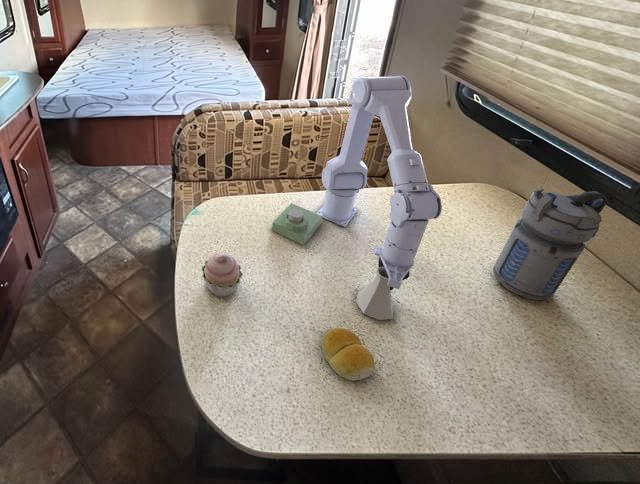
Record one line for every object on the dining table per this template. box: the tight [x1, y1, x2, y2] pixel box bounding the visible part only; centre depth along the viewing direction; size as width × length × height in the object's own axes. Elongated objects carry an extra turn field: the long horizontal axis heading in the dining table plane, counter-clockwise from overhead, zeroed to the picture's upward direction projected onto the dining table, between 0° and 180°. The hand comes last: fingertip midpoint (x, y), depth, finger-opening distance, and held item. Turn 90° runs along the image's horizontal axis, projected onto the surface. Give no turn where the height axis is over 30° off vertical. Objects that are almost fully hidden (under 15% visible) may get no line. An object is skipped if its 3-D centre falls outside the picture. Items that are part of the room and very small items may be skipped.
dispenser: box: [271, 202, 323, 246], centre depth 101 cm, size 11×9×4 cm
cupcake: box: [201, 252, 244, 298], centre depth 83 cm, size 9×9×10 cm
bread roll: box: [321, 327, 376, 382], centre depth 69 cm, size 8×9×4 cm
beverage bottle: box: [492, 188, 609, 301], centre depth 77 cm, size 10×13×25 cm
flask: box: [355, 267, 394, 321], centre depth 77 cm, size 7×7×10 cm
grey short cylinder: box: [288, 209, 303, 223], centre depth 98 cm, size 4×4×2 cm
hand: (386, 286), depth 81 cm, fingers closed
